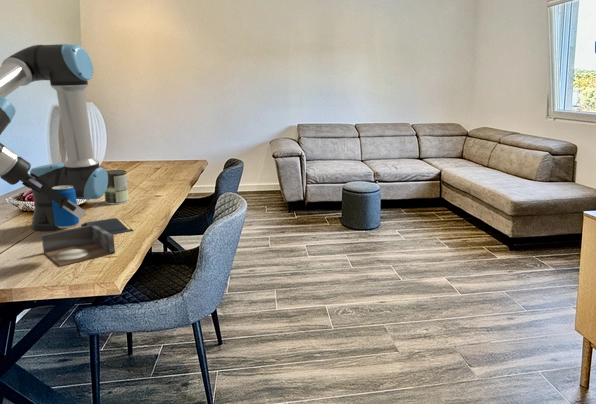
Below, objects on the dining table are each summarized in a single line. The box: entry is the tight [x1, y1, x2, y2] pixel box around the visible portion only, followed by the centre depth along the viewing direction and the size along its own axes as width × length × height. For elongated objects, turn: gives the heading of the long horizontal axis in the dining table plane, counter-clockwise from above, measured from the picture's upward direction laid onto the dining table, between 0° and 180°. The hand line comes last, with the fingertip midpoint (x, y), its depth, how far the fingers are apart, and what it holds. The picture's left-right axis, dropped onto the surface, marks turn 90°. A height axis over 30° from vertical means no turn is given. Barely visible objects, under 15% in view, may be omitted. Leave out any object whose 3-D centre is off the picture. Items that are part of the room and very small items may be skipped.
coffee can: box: [104, 169, 130, 206], centre depth 203 cm, size 10×10×14 cm
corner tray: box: [40, 224, 116, 268], centre depth 140 cm, size 16×16×6 cm
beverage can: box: [52, 185, 80, 229], centre depth 133 cm, size 6×6×12 cm
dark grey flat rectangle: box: [80, 217, 134, 236], centre depth 166 cm, size 20×2×15 cm
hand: (78, 212), depth 136 cm, fingers closed on beverage can, 6 cm apart
